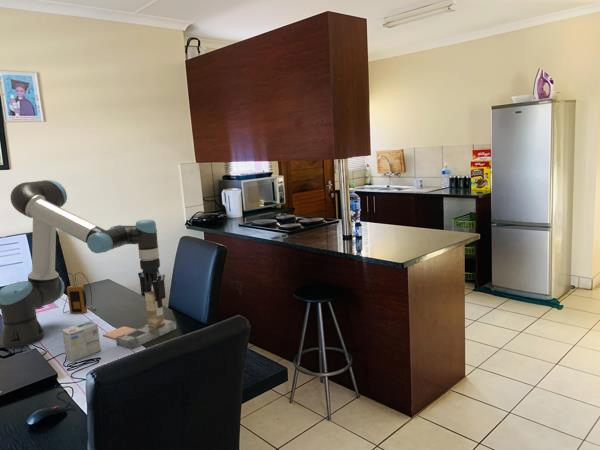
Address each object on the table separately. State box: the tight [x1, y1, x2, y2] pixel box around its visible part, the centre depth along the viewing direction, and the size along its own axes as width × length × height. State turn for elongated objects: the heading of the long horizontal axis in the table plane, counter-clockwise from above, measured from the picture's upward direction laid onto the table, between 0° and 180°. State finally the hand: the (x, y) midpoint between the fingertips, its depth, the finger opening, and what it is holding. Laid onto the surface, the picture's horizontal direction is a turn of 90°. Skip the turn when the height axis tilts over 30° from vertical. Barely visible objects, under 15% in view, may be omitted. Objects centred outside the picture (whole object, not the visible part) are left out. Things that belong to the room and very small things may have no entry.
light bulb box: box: [61, 320, 102, 362], centre depth 169 cm, size 11×7×11 cm, turn 141°
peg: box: [144, 289, 165, 328], centre depth 185 cm, size 4×4×14 cm
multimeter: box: [62, 271, 97, 314], centre depth 219 cm, size 15×10×20 cm
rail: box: [115, 318, 177, 350], centre depth 182 cm, size 22×9×3 cm, turn 147°
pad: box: [102, 325, 136, 341], centre depth 187 cm, size 10×10×1 cm
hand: (155, 314), depth 186 cm, fingers closed on peg, 4 cm apart
